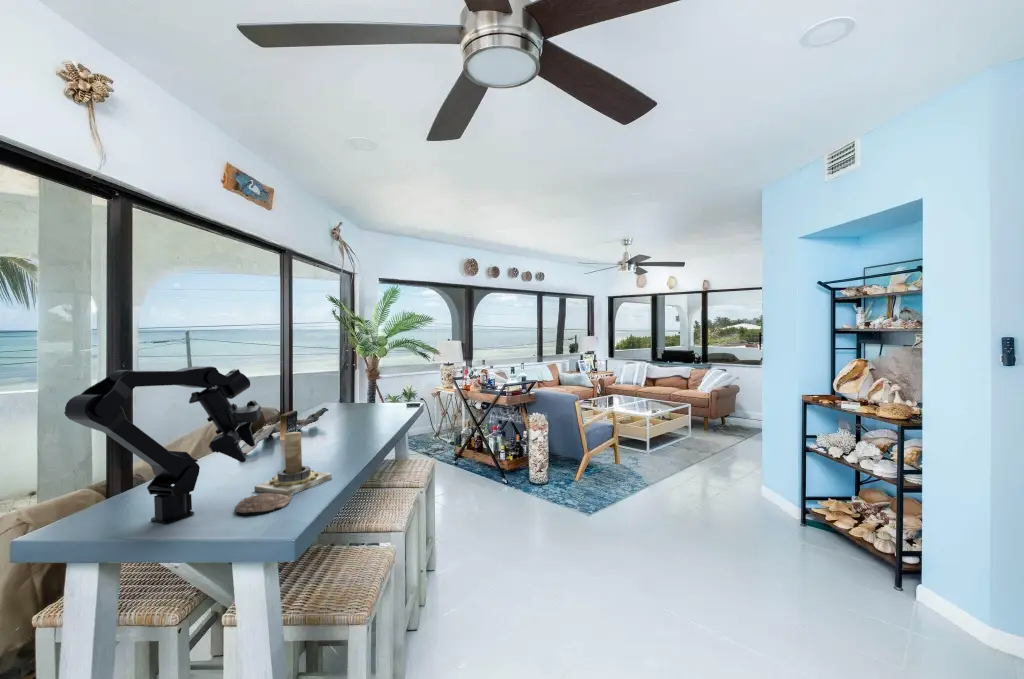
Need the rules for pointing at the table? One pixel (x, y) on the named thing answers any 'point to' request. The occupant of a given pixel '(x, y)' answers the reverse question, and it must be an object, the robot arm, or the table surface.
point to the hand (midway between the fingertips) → (248, 453)
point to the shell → (262, 504)
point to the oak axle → (293, 452)
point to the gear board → (292, 481)
